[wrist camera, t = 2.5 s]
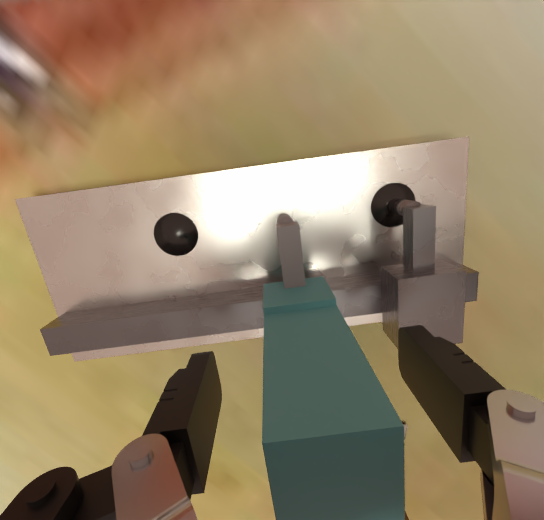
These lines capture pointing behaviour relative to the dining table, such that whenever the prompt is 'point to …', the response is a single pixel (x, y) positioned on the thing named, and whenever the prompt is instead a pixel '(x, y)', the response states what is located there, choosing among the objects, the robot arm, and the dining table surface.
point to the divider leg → (323, 405)
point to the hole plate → (255, 249)
